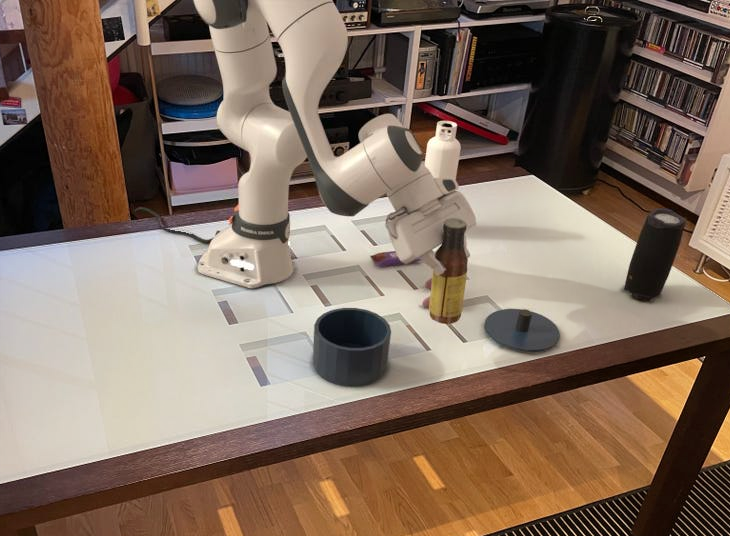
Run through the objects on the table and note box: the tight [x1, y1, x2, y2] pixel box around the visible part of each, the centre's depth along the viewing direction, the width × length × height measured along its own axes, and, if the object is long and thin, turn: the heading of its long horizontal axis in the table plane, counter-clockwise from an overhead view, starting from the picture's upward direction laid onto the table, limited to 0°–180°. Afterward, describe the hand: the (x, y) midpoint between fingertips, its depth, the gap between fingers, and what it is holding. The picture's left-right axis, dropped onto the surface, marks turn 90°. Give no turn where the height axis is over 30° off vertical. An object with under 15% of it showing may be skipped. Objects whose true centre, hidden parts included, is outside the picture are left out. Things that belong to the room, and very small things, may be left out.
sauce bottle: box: [428, 218, 469, 325], centre depth 141 cm, size 7×6×20 cm
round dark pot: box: [312, 307, 392, 388], centre depth 148 cm, size 15×15×8 cm
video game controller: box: [422, 277, 432, 309], centre depth 170 cm, size 10×5×7 cm, turn 168°
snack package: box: [369, 250, 422, 268], centre depth 184 cm, size 12×2×5 cm
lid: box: [483, 308, 561, 353], centre depth 160 cm, size 16×16×5 cm
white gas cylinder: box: [424, 120, 462, 181], centre depth 191 cm, size 8×8×28 cm
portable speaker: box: [623, 207, 687, 302], centre depth 170 cm, size 9×9×20 cm
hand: (454, 266), depth 140 cm, fingers closed on sauce bottle, 6 cm apart
